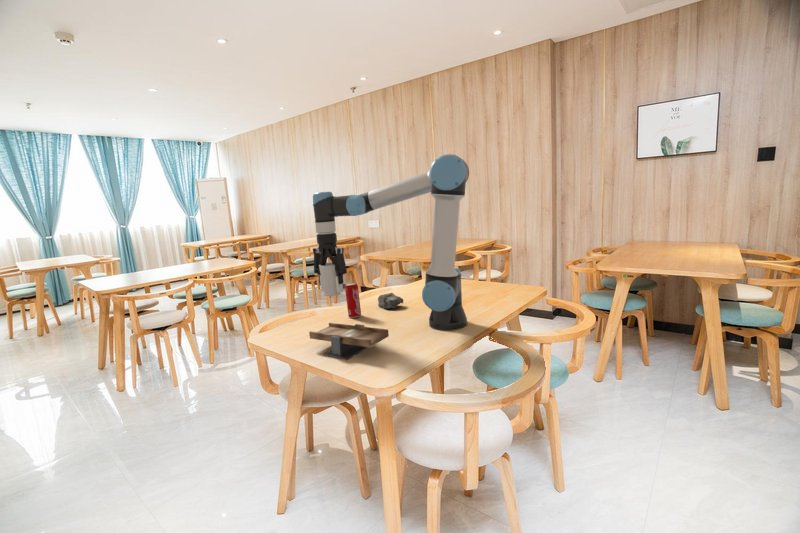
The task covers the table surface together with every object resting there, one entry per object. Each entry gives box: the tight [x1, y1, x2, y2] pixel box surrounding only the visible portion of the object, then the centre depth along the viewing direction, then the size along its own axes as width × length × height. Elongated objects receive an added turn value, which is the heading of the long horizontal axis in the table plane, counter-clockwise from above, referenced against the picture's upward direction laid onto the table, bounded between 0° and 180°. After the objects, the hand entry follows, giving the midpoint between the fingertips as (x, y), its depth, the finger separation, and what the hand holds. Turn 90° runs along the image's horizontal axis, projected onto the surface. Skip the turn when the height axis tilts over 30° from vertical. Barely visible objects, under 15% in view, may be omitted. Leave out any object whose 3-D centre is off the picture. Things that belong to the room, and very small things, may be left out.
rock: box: [377, 292, 404, 310], centre depth 191 cm, size 13×9×6 cm, turn 62°
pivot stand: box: [323, 323, 369, 361], centre depth 141 cm, size 10×16×7 cm, turn 149°
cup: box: [319, 261, 341, 297], centre depth 157 cm, size 8×8×12 cm
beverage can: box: [344, 282, 362, 319], centre depth 180 cm, size 6×6×15 cm
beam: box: [308, 322, 390, 348], centre depth 141 cm, size 26×11×2 cm, turn 59°
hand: (332, 291), depth 158 cm, fingers closed on cup, 7 cm apart
